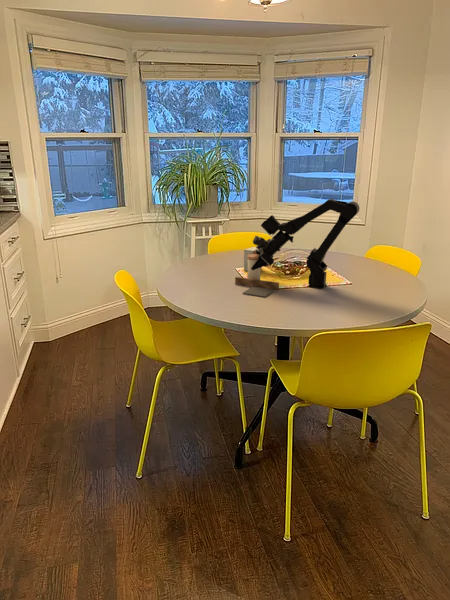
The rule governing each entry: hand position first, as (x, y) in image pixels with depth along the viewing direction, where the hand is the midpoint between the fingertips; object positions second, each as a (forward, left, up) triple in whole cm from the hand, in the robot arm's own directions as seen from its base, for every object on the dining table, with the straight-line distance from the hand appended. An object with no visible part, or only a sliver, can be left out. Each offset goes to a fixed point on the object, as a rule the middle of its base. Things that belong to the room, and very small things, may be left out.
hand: (250, 267), depth 201 cm
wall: (-5, +5, -7) cm, 10 cm away
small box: (+8, -20, -7) cm, 22 cm away
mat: (-9, +12, -7) cm, 17 cm away
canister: (-1, -1, -7) cm, 7 cm away
